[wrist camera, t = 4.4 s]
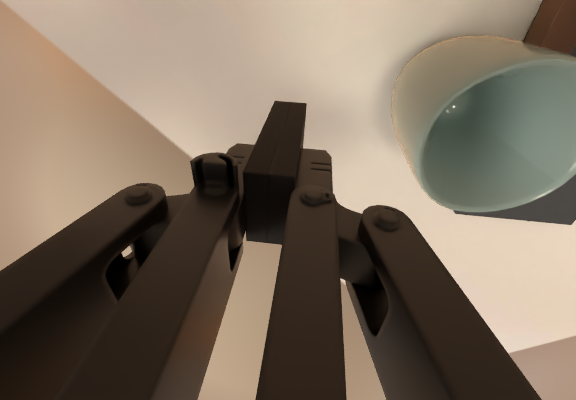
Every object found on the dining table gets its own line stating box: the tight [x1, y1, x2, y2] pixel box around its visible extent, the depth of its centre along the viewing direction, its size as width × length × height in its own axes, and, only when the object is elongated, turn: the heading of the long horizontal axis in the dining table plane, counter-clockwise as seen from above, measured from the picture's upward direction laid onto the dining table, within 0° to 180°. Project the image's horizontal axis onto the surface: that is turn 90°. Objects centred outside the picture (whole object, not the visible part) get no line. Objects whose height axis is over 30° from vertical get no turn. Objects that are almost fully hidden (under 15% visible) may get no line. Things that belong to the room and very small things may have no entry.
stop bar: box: [524, 0, 576, 54], centre depth 20 cm, size 2×16×2 cm, turn 178°
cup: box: [391, 35, 576, 212], centre depth 17 cm, size 8×8×10 cm
